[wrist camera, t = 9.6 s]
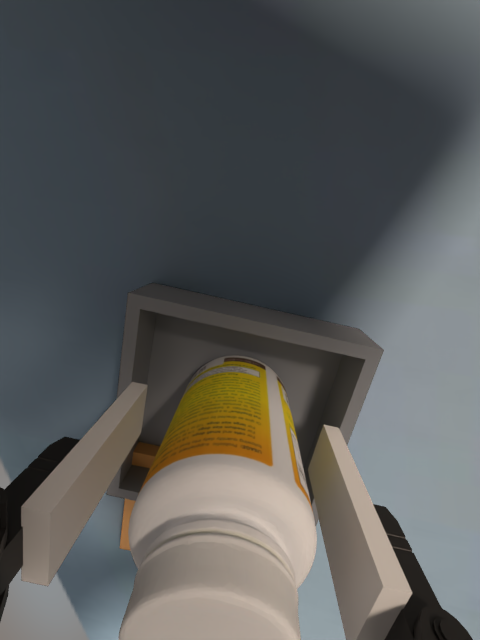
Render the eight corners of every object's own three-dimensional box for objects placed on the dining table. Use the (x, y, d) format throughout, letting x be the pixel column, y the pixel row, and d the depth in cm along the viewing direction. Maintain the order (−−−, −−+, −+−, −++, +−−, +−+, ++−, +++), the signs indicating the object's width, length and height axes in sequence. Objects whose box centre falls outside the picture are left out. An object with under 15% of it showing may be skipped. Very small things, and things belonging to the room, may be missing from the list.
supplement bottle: (167, 394, 16) (25, 643, 6) (238, 330, 15) (207, 513, 5) (235, 456, 17) (208, 761, 7) (307, 401, 16) (400, 676, 6)
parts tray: (152, 282, 15) (128, 292, 12) (359, 329, 15) (383, 349, 12) (130, 453, 18) (106, 494, 15) (301, 491, 18) (310, 539, 15)
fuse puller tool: (140, 431, 18) (129, 451, 16) (178, 439, 18) (170, 459, 16) (129, 524, 20) (119, 548, 19) (162, 531, 20) (154, 555, 19)
